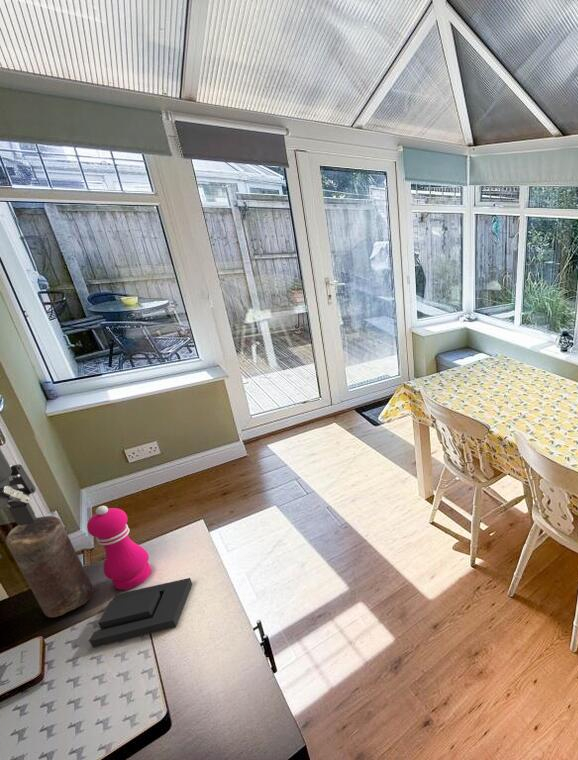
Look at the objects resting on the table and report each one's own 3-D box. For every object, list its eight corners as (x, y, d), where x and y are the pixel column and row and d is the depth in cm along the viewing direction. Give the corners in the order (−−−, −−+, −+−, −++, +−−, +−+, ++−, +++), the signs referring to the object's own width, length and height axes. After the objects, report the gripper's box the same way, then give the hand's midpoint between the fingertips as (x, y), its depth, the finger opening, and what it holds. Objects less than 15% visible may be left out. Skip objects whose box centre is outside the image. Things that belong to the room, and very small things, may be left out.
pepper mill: (152, 559, 95) (122, 490, 87) (156, 578, 91) (125, 507, 83) (110, 577, 91) (74, 505, 83) (113, 598, 86) (75, 525, 78)
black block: (103, 633, 79) (97, 623, 78) (115, 611, 84) (110, 600, 82) (153, 621, 82) (148, 611, 81) (162, 599, 86) (158, 589, 85)
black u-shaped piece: (92, 648, 77) (88, 641, 76) (118, 600, 86) (115, 594, 85) (176, 627, 81) (173, 620, 80) (192, 584, 90) (190, 577, 89)
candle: (97, 581, 90) (60, 509, 82) (98, 604, 85) (58, 530, 77) (46, 602, 85) (1, 527, 77) (44, 627, 80) (-4, 551, 72)
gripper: (-37, 436, 65) (10, 516, 71) (-124, 493, 53) (-58, 583, 59) (26, 429, 67) (65, 507, 74) (-44, 482, 55) (11, 570, 62)
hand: (10, 541), depth 66 cm, fingers open, 8 cm apart
